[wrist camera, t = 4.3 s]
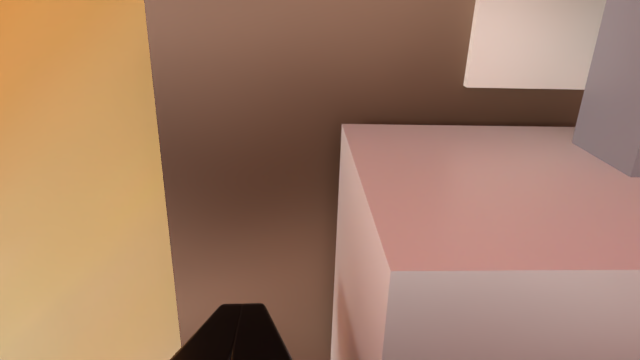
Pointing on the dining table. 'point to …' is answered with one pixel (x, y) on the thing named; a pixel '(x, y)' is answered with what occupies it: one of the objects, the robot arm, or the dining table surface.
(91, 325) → the dining table surface
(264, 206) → the gauge board
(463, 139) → the pink rectangular block
